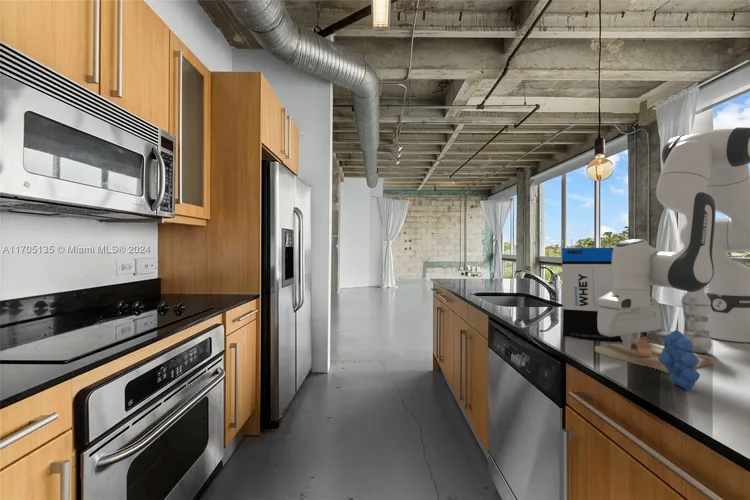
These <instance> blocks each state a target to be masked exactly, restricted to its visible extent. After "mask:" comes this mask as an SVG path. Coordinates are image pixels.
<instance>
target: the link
mask: <svg viewBox="0 0 750 500" xmlns="http://www.w3.org/2000/svg"><path fill="white" fill-rule="evenodd" d="M649 343H650V342H649V339H647V337H640V339H639V341H638V343H637V349H636V351H637V354H638V355H639V356H643V357H651V356H652V349H651V346H650V344H649Z"/></svg>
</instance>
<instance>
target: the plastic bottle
mask: <svg viewBox="0 0 750 500" xmlns="http://www.w3.org/2000/svg"><path fill="white" fill-rule="evenodd" d="M705 287H706V286H705ZM705 287H704V288H702V289H700V290H698V291H695V292H689V291H685V293H684V294H683V296H682V297H681V300H680V302H681V308H682V315H683V330H682V331H683V332H682V334H683V335H684V336H685V337H686V338H687V339H688V340H689V341H690V342H691V343H692V344H693V345H694V346H693V348H692V350H691V351H690V352H692V353H695V354H706V353H707V354H708V353H710V351H711V350H712V345H713V343H712V338H711V337H709V336H710V335H709V327H708V320H709V311H710V305H711V301H710V299H709V297H708V296H707V293H706V292H705V291H704V290H705V289H706V288H705Z"/></svg>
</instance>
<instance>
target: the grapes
mask: <svg viewBox="0 0 750 500" xmlns="http://www.w3.org/2000/svg"><path fill="white" fill-rule="evenodd" d="M671 332H672V333H671V334H668V335H667V336H666V337H665V338H664V340H663V342H664V344H665V343H666V344H667V346H665V345H664V346H665V347H664V349H663V351H662V353H661V354H660V355H659V357H658V359H659V361H660V362H661V363H662V364H663V365H665V367H666V369H667V370H668V371H669V372H670V373H671V376H670V380H672V382H673V383H674V384H675V385H677V386H678V387H681V388H683V389H684V390H686V391H687V390H689V391H690V390H692V389H693V388H694V386H695V385H696V383H697V381H698V380H699V379H700V376H701V374H700V372H699V371H697V370H696V369H695V368H696V367H695V366H696V365H697V364H698V362H699V359H698V358H697V357H696V356H695V355H694V354H693V353H694V352H690V351H691V350H692V348H693V346H694V345H693V344H692V343H691V342H690V341H689V340H688V339H687V338H686V337H685V336H684V335H683V332H681V331H679V330H673V331H671ZM693 367H694V368H693Z"/></svg>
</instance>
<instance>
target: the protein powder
mask: <svg viewBox="0 0 750 500" xmlns="http://www.w3.org/2000/svg"><path fill="white" fill-rule="evenodd" d="M613 248H614V247H562V248H561V251H562V255H561V258H562V259H561V260H562V262H561V263H562V265H561V268H562V269H561V274H562V276H561V278H562V279H561V281H562V307H563V308H562V336H563V337H568V338H571V339H572V338H573V339H577V340H584V341H591V342H603V343H604V342H605V343H622V342H623V341H622V339H621V337H620V336H613V337H609V336H605V335H601V334H600V333H599V331H598V327H597V316H598V310H599V308H600V307H602V306H599V305H598V298H600V297H602V296H604V295H606V294H607V293H609V292H610V291H611V286H612V283H613V275H612V272H611V262H612V252H613ZM640 334H644V337H647V334H648V333H647V332H643V333H640Z"/></svg>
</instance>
